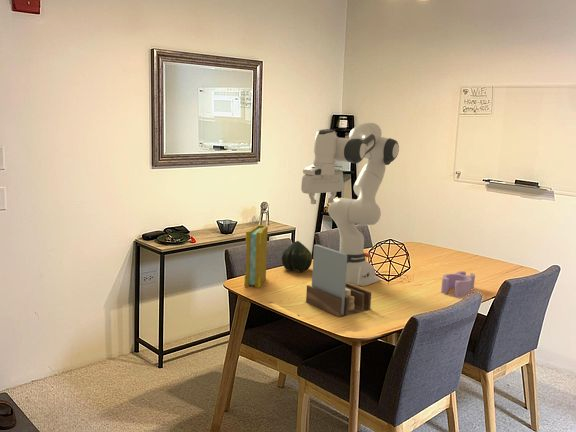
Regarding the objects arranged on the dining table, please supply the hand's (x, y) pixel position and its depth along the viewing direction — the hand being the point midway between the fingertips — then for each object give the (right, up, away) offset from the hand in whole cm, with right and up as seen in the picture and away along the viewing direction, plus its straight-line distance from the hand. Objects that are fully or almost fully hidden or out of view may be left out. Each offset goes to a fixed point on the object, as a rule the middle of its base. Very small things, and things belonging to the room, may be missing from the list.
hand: (322, 203), depth 238 cm
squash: (-10, -32, +51) cm, 61 cm away
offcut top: (+6, -36, -5) cm, 37 cm away
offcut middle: (+6, -39, -5) cm, 40 cm away
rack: (+6, -43, -4) cm, 43 cm away
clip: (+64, -40, +28) cm, 80 cm away
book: (-29, -36, +28) cm, 54 cm away
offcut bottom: (+6, -41, -4) cm, 42 cm away
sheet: (+1, -42, -8) cm, 43 cm away
